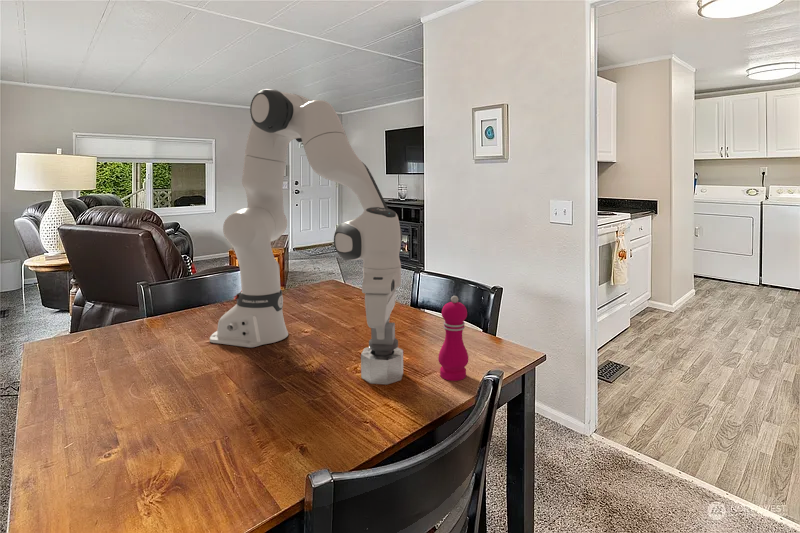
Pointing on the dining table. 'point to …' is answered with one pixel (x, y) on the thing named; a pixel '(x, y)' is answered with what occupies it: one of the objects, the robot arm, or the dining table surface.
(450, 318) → the pepper mill
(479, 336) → the dining table surface
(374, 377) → the grey octagonal nut
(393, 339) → the grey stepped piece
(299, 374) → the dining table surface
